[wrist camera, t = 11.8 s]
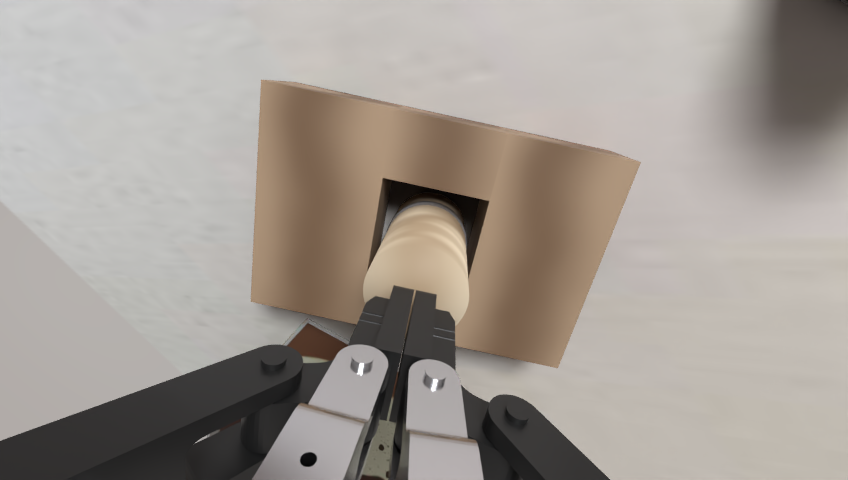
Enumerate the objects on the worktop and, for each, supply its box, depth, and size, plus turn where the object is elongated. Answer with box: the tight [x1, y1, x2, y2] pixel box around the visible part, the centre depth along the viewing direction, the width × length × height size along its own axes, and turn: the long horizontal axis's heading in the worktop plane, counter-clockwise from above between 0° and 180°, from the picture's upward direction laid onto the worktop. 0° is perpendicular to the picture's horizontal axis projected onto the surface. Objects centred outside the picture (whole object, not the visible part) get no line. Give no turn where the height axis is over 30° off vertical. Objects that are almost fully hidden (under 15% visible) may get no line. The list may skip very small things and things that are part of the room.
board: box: [251, 80, 641, 368], centre depth 22 cm, size 18×12×4 cm, turn 79°
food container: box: [207, 318, 399, 480], centre depth 24 cm, size 12×6×10 cm, turn 59°
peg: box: [363, 192, 469, 338], centre depth 19 cm, size 4×4×10 cm
